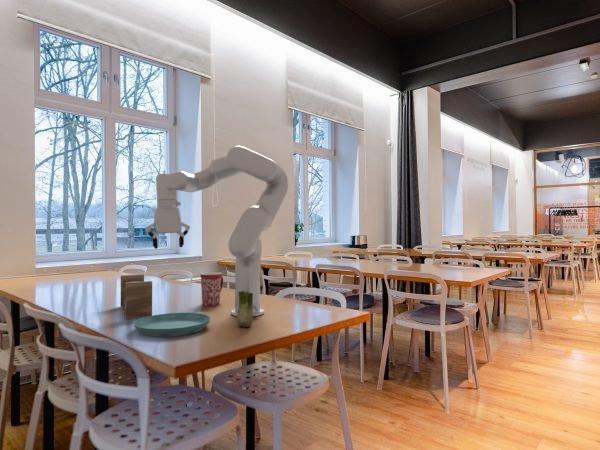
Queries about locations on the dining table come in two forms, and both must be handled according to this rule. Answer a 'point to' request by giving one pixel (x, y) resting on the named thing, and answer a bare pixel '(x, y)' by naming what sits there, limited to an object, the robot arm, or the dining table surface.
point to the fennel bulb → (245, 309)
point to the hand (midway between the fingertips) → (168, 247)
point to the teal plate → (171, 324)
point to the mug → (211, 288)
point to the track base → (136, 296)
